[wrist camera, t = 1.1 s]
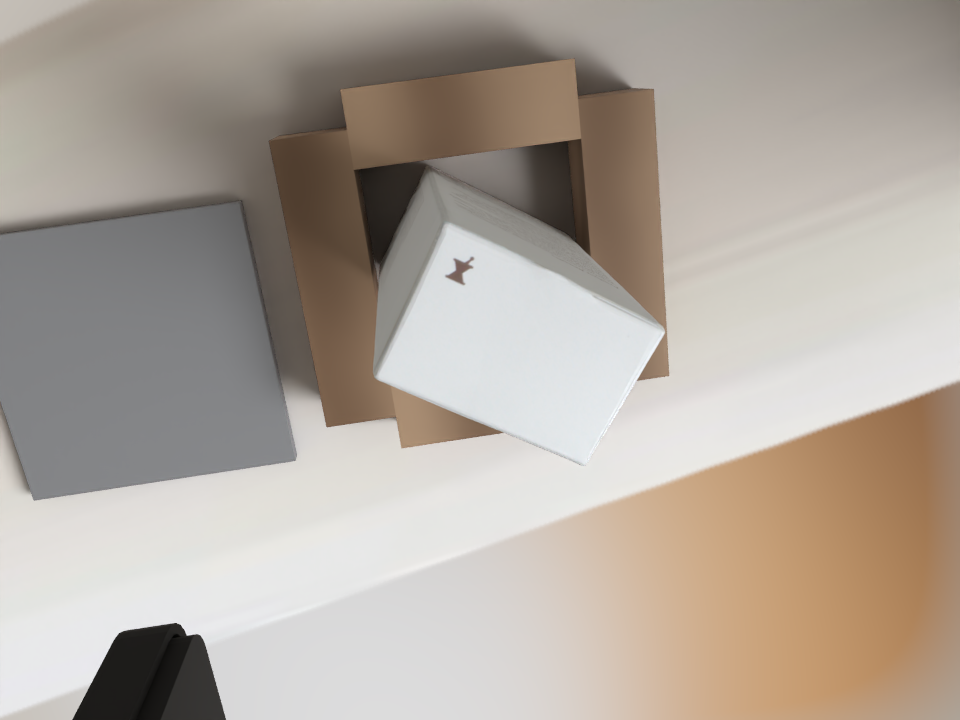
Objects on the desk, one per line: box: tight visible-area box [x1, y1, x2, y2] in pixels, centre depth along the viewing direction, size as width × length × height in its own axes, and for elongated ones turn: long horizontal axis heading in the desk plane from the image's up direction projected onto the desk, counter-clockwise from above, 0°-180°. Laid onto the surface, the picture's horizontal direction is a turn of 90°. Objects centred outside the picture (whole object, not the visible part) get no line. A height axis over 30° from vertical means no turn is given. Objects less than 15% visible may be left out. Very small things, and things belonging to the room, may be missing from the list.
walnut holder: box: [269, 58, 669, 448], centre depth 30 cm, size 12×12×2 cm
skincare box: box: [373, 165, 665, 466], centre depth 25 cm, size 6×4×12 cm
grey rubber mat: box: [0, 201, 297, 500], centre depth 31 cm, size 10×10×1 cm
